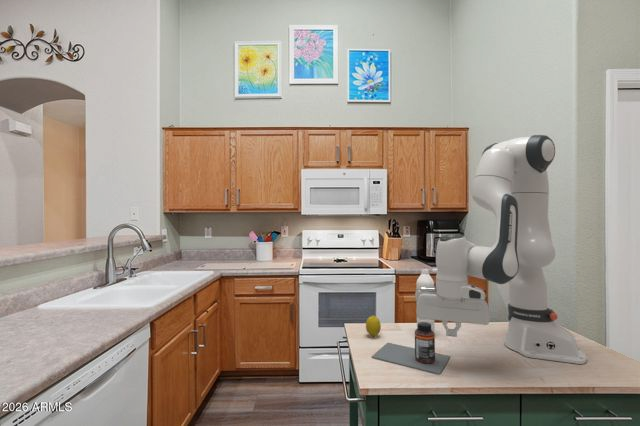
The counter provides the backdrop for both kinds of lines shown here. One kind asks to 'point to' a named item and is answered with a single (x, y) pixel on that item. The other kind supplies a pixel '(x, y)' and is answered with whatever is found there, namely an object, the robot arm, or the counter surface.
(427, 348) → the supplement bottle
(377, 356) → the mat
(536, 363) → the counter surface
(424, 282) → the water bottle
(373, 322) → the lemon
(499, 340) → the counter surface
